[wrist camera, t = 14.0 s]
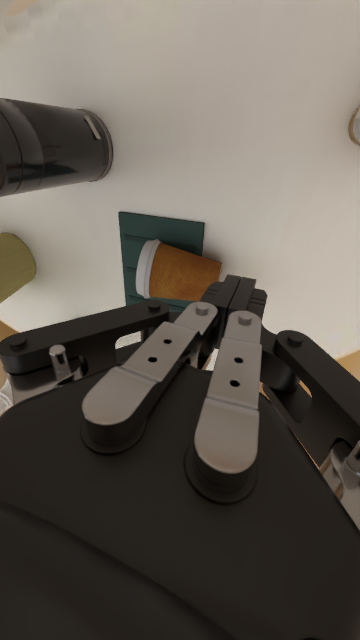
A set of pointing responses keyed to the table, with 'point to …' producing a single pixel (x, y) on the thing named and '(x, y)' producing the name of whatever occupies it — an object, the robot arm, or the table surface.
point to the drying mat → (148, 229)
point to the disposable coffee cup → (174, 272)
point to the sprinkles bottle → (355, 127)
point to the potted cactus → (14, 265)
